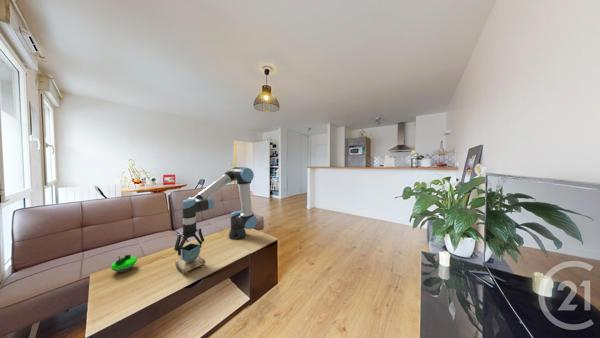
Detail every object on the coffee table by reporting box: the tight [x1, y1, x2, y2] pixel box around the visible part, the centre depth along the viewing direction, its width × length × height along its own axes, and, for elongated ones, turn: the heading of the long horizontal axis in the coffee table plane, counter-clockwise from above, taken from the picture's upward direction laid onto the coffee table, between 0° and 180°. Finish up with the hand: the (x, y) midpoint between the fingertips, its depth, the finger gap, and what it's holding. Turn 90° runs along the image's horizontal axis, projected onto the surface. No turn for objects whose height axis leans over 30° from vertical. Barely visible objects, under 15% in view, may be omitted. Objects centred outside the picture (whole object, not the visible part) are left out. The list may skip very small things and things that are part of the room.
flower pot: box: [182, 242, 201, 263], centre depth 118 cm, size 9×9×9 cm
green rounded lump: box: [110, 254, 138, 273], centre depth 115 cm, size 12×12×11 cm
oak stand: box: [175, 254, 206, 276], centre depth 119 cm, size 13×13×4 cm
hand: (190, 256), depth 118 cm, fingers closed on flower pot, 10 cm apart
